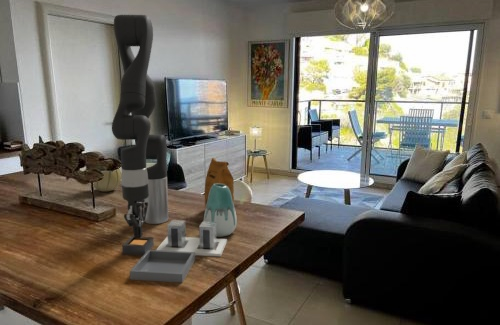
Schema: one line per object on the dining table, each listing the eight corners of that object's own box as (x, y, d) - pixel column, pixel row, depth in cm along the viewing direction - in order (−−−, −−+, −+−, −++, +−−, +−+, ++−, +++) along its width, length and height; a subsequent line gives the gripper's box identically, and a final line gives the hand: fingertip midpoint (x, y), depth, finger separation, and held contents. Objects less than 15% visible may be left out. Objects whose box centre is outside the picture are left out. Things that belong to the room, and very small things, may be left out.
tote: (130, 283, 96) (129, 271, 96) (149, 260, 109) (148, 249, 108) (182, 286, 95) (182, 274, 94) (195, 263, 108) (195, 252, 107)
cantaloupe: (92, 188, 188) (90, 159, 185) (122, 186, 192) (121, 157, 189) (89, 196, 174) (86, 165, 171) (122, 193, 178) (120, 163, 175)
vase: (241, 229, 134) (241, 181, 130) (229, 241, 123) (229, 190, 120) (212, 225, 138) (211, 178, 134) (198, 237, 127) (196, 186, 123)
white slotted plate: (155, 256, 112) (155, 250, 112) (167, 241, 123) (167, 236, 122) (220, 260, 110) (220, 253, 109) (227, 244, 121) (226, 239, 120)
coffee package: (221, 205, 161) (221, 156, 157) (236, 213, 151) (236, 160, 147) (201, 209, 156) (200, 158, 151) (215, 218, 145) (214, 163, 141)
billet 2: (199, 254, 114) (199, 226, 112) (203, 248, 118) (202, 221, 116) (213, 255, 113) (213, 227, 111) (216, 248, 118) (216, 222, 116)
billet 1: (168, 252, 115) (167, 225, 113) (172, 246, 119) (171, 220, 117) (181, 253, 114) (181, 225, 112) (186, 247, 119) (185, 220, 117)
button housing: (123, 257, 111) (122, 245, 110) (132, 247, 118) (132, 236, 117) (145, 259, 110) (144, 246, 109) (153, 249, 117) (153, 237, 116)
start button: (128, 252, 112) (128, 245, 111) (134, 246, 116) (134, 239, 116) (142, 253, 111) (142, 246, 111) (148, 247, 116) (147, 240, 115)
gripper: (138, 189, 103) (141, 246, 106) (155, 177, 116) (157, 229, 119) (112, 188, 104) (116, 245, 107) (132, 176, 116) (135, 228, 120)
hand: (138, 236), depth 113 cm, fingers closed
